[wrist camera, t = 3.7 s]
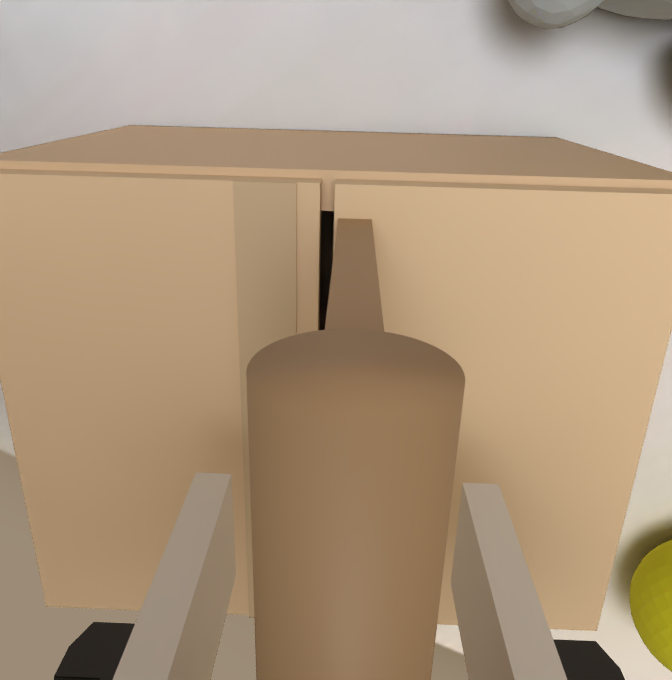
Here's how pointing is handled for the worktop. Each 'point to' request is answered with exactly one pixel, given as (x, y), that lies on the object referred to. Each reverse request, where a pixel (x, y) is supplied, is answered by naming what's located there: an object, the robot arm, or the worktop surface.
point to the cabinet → (184, 313)
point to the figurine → (586, 10)
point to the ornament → (654, 602)
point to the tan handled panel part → (452, 413)
